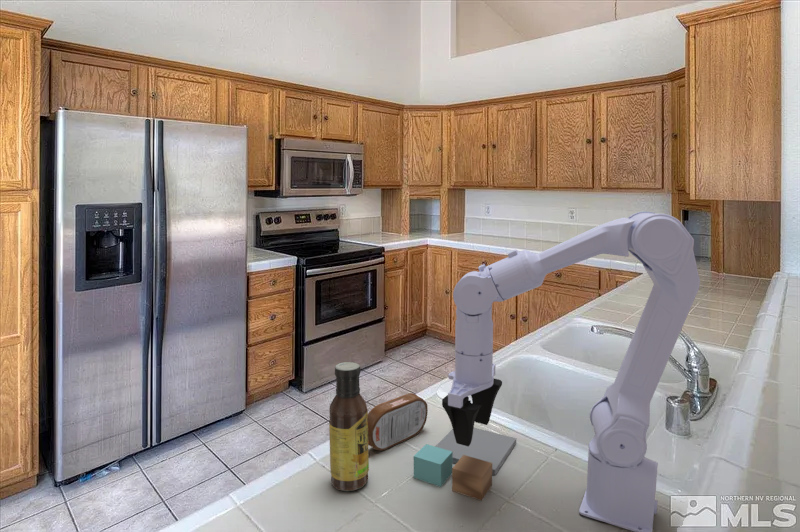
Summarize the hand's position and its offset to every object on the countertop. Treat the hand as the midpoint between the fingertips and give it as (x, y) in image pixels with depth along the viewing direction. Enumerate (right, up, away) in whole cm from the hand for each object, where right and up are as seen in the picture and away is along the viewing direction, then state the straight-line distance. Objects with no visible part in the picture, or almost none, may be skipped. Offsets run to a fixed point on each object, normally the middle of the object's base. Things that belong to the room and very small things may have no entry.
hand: (472, 432), depth 75 cm
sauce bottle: (-20, -9, +3) cm, 22 cm away
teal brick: (-6, -9, +5) cm, 12 cm away
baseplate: (+2, -8, +13) cm, 15 cm away
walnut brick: (0, -9, +1) cm, 10 cm away
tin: (-12, -8, +16) cm, 21 cm away
